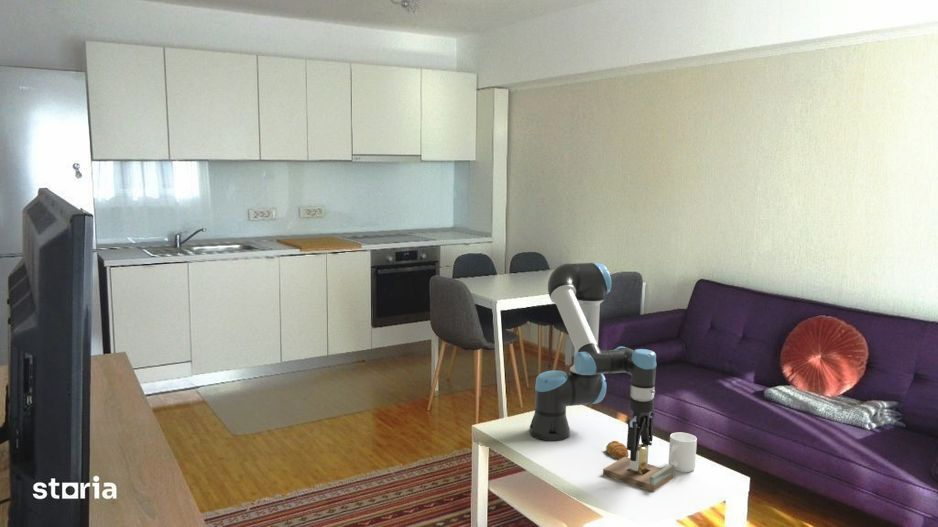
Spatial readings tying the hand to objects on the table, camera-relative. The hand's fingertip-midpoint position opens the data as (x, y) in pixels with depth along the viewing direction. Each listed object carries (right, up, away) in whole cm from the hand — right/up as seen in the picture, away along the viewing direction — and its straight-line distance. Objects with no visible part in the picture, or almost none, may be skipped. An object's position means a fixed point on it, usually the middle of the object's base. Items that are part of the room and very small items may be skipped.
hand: (638, 466), depth 232 cm
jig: (0, -3, 0) cm, 3 cm away
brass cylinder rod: (0, -3, +1) cm, 3 cm away
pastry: (-3, -1, +19) cm, 19 cm away
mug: (+15, -3, +7) cm, 17 cm away
